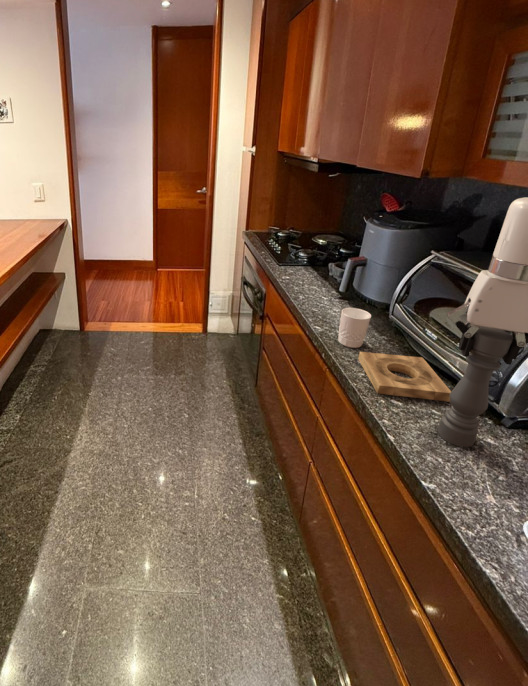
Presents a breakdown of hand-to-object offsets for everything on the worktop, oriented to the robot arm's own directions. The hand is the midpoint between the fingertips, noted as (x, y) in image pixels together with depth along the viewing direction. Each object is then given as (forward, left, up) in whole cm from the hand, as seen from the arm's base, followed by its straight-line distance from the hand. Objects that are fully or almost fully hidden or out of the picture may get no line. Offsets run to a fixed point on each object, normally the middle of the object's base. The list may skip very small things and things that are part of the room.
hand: (484, 356), depth 75 cm
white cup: (+20, -34, -20) cm, 44 cm away
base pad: (+8, -19, -20) cm, 29 cm away
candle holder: (0, 0, -20) cm, 20 cm away
